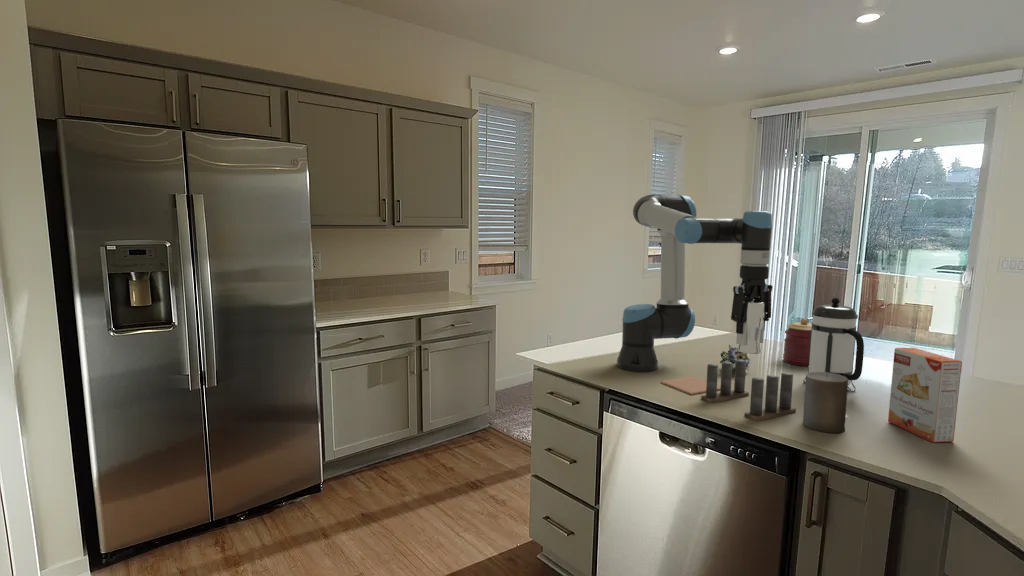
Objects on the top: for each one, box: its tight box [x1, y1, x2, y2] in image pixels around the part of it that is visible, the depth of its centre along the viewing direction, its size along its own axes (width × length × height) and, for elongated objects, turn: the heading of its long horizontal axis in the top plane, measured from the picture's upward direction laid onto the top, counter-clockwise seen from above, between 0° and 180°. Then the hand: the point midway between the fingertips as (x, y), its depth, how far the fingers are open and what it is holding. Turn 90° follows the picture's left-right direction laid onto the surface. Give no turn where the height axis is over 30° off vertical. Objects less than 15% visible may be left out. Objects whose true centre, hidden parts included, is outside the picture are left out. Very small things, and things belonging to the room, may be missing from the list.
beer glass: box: [738, 300, 765, 355], centre depth 150 cm, size 7×7×15 cm
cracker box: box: [887, 347, 963, 443], centre depth 132 cm, size 14×6×21 cm, turn 5°
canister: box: [782, 318, 812, 367], centre depth 201 cm, size 13×13×18 cm
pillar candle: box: [802, 372, 849, 434], centre depth 136 cm, size 10×10×15 cm
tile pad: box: [660, 375, 721, 396], centre depth 171 cm, size 14×14×1 cm
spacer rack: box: [700, 360, 797, 422], centre depth 152 cm, size 20×16×11 cm
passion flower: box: [719, 344, 751, 371], centre depth 189 cm, size 11×11×12 cm
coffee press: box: [802, 297, 865, 392], centre depth 168 cm, size 17×16×30 cm
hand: (749, 343), depth 151 cm, fingers closed on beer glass, 6 cm apart
